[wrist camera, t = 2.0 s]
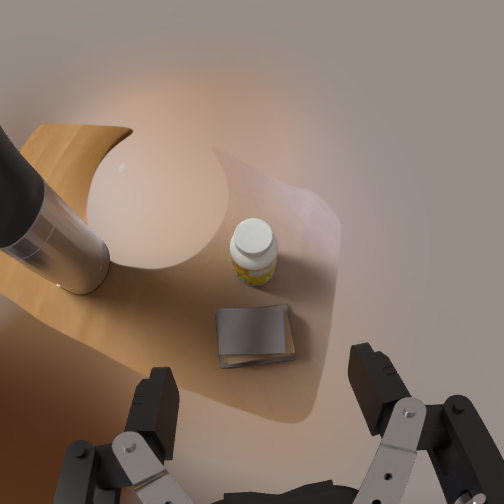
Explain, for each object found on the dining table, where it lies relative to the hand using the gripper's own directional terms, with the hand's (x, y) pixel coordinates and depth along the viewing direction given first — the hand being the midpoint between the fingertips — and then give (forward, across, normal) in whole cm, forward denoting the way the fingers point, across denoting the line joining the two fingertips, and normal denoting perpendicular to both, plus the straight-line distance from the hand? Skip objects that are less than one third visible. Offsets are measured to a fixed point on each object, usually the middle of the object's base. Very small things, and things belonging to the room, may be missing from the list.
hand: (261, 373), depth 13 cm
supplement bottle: (+27, -1, +8) cm, 28 cm away
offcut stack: (+21, 0, +14) cm, 25 cm away
